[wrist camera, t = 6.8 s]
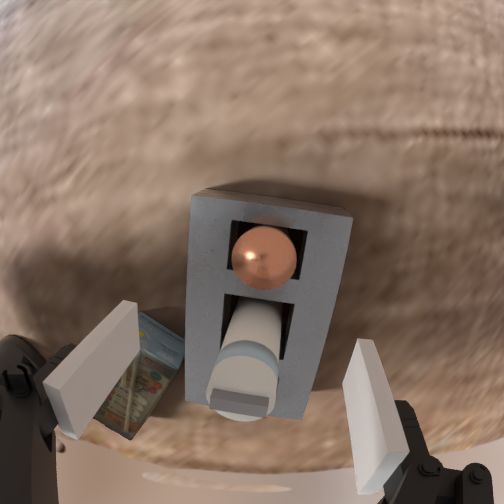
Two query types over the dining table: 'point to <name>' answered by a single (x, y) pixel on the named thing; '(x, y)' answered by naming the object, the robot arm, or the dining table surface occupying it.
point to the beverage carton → (143, 379)
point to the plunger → (264, 257)
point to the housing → (293, 291)
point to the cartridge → (248, 362)
